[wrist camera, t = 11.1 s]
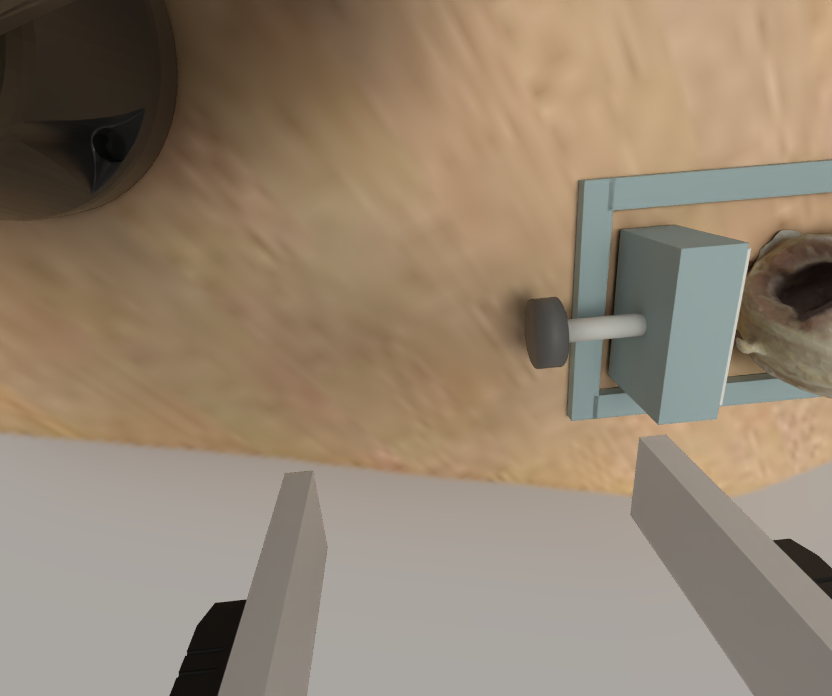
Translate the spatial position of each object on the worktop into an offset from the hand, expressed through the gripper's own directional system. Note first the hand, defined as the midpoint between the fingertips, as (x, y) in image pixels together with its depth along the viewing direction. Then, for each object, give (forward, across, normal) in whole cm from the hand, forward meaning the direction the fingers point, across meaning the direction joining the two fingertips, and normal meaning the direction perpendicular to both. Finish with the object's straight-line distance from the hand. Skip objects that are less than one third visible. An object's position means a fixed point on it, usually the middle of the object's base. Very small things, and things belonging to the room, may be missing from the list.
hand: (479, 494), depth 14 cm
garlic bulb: (+16, +21, 0) cm, 26 cm away
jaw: (+15, +10, 0) cm, 18 cm away
